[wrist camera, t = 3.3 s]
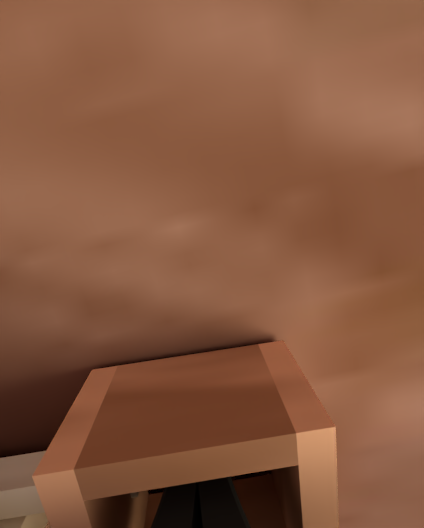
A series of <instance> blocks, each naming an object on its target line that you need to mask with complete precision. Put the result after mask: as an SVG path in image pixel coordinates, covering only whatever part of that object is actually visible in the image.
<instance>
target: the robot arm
mask: <svg viewBox="0 0 424 528" xmlns="http://www.w3.org/2000/svg"><path fill="white" fill-rule="evenodd" d="M151 528H251V527H250V524H249V522H248V520H247V517H246V515H245V513H244V510H243V508H242V506H241V503H240V501H239V498H238V496H237V493H236V490H235V487H234V485H233V482H232V479H231V476H230V477H224V478H218V479H212V480H206V481H200V482H194V483H188V484H182V485H176V486H170V487H165V489H164V492H163V494H162V497H161V500H160V503H159V506H158V509H157V512H156V515H155V517H154V520H153V523H152V525H151Z"/></svg>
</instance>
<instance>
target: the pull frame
mask: <svg viewBox="0 0 424 528" xmlns="http://www.w3.org/2000/svg"><path fill="white" fill-rule="evenodd" d="M266 470H271V474H269V475H263V476H257V477H251V478H245V479H239V480H233V481H232V482H233V485H234V487H235V490H236V493H237V496H238V498H239V501H240V503H241V506H242V508H243V510H244V513H245V515H246V517H247V520H248V522H249V524H250V527H251V528H339V517H338V486H337V456H336V427H335V425H334V423H333V422H332V420H331V418H330V417H329V415H328V414H327V412H326V410H325V409H324V407H323V405H322V404H321V402H320V400H319V399H318V397H317V395H316V394H315V392H314V390H313V389H312V387H311V386H310V384H309V382H308V381H307V379H306V377H305V376H304V374H303V372H302V371H301V369H300V367H299V366H298V364H297V363H296V361H295V359H294V358H293V356H292V354H291V353H290V351H289V349H288V348H287V346H286V344H285V343H284V341H283V340H282V341H276V342H269V343H263V344H256V345H250V346H243V347H237V348H230V349H224V350H217V351H210V352H204V353H197V354H191V355H184V356H178V357H171V358H165V359H158V360H152V361H145V362H139V363H132V364H126V365H119V366H113V367H106V368H99V369H93V370H92V371H91V372H90V374H89V376H88V378H87V379H86V381H85V383H84V385H83V387H82V388H81V390H80V392H79V394H78V395H77V397H76V399H75V401H74V403H73V404H72V406H71V408H70V410H69V411H68V413H67V415H66V417H65V419H64V420H63V422H62V424H61V426H60V427H59V429H58V431H57V433H56V435H55V436H54V438H53V440H52V442H51V443H50V445H49V447H48V449H47V451H41V452H35V453H29V454H23V455H16V456H10V457H4V458H0V520H2V519H8V518H14V517H20V516H26V515H32V514H38V513H44V512H45V514H46V517H47V519H48V522H49V525H50V528H151V525H152V523H153V520H154V517H155V515H156V512H157V509H158V506H159V503H160V500H161V497H162V494H163V492H161V493H155V494H149V493H148V490H152V489H158V488H164V487H170V486H176V485H182V484H188V483H194V482H200V481H206V480H212V479H218V478H224V477H230V476H236V475H242V474H248V473H254V472H260V471H266Z"/></svg>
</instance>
